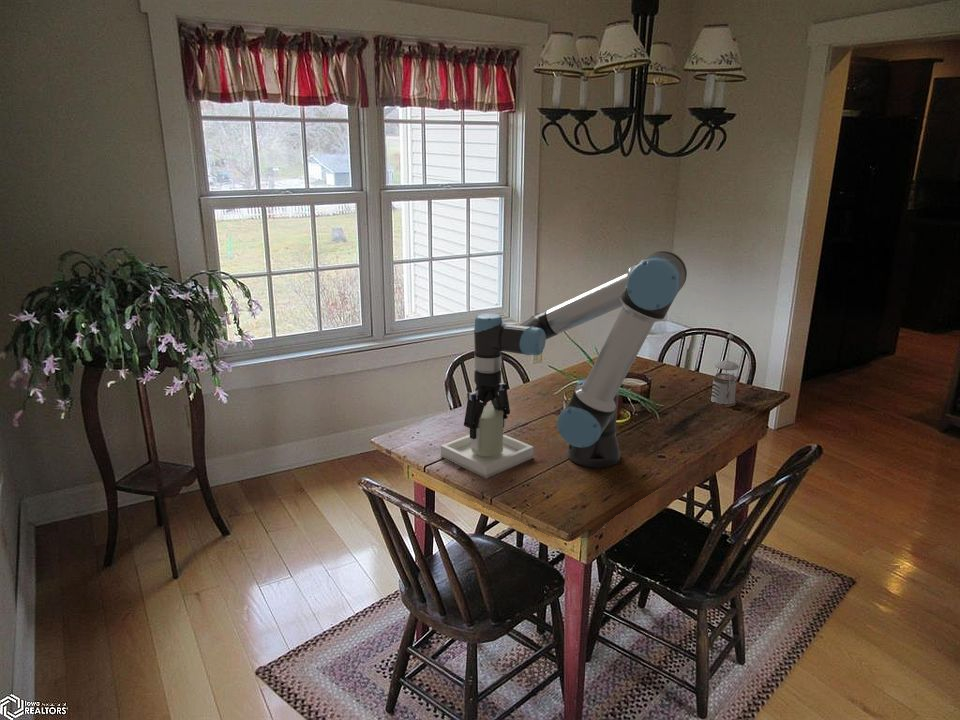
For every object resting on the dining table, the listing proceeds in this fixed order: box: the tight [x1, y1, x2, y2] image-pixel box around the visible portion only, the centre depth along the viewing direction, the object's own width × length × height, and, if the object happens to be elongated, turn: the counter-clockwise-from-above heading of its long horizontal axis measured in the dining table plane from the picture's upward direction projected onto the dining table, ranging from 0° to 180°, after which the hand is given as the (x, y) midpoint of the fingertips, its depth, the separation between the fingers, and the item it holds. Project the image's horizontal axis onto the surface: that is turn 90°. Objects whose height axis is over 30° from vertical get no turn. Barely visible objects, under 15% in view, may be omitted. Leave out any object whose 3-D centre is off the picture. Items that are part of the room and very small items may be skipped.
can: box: [471, 406, 504, 456], centre depth 197 cm, size 9×9×12 cm
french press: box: [710, 334, 740, 404], centre depth 238 cm, size 10×12×25 cm
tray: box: [440, 433, 534, 480], centre depth 199 cm, size 19×19×4 cm
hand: (487, 443), depth 198 cm, fingers closed on can, 9 cm apart
